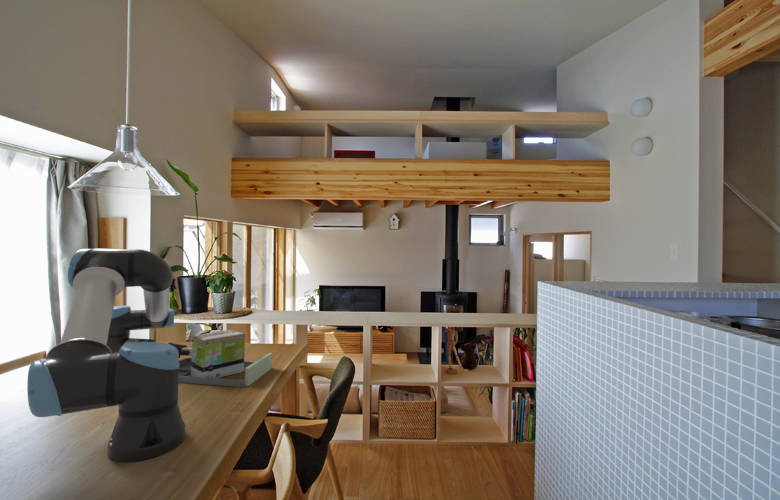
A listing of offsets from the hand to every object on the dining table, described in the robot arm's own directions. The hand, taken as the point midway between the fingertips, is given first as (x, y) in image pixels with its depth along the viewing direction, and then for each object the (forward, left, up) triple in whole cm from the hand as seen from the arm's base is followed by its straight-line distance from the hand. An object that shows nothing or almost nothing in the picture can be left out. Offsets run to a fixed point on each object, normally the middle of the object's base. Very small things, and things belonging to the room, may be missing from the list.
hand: (199, 352), depth 131 cm
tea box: (0, -8, -8) cm, 11 cm away
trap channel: (0, -6, -7) cm, 9 cm away
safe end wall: (0, -24, -7) cm, 25 cm away
